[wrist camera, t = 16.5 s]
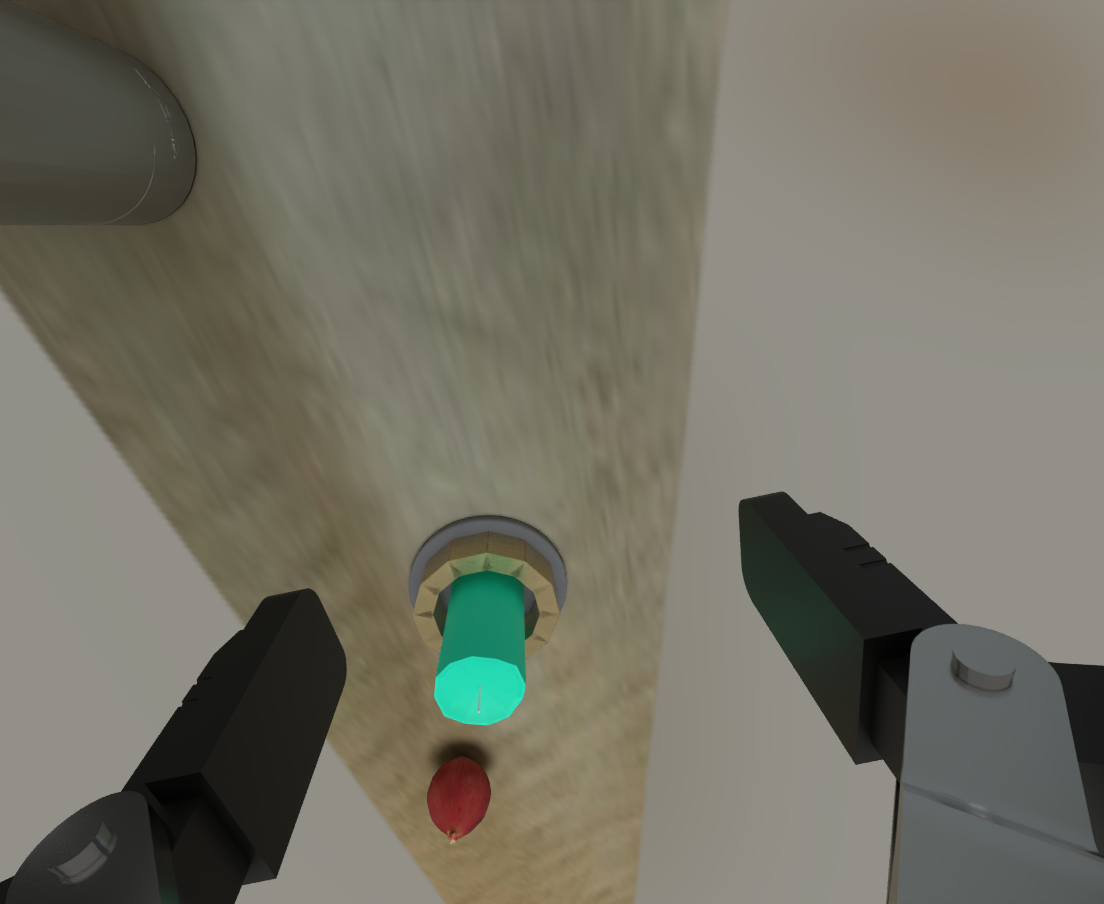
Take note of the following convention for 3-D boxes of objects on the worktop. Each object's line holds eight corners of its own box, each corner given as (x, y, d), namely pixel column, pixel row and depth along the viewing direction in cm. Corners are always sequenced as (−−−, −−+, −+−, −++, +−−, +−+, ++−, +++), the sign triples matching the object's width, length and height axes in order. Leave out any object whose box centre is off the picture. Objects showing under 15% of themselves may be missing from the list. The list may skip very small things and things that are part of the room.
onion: (503, 753, 53) (501, 837, 46) (469, 784, 55) (462, 871, 48) (455, 729, 52) (445, 813, 44) (422, 763, 53) (407, 849, 46)
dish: (437, 655, 48) (436, 663, 47) (389, 535, 43) (386, 542, 42) (578, 625, 47) (580, 633, 46) (547, 500, 42) (548, 506, 41)
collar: (443, 652, 46) (439, 680, 44) (403, 549, 42) (395, 572, 39) (566, 626, 46) (570, 652, 43) (538, 520, 42) (540, 541, 39)
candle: (482, 630, 46) (472, 759, 35) (435, 585, 44) (409, 708, 33) (538, 594, 45) (545, 715, 34) (492, 546, 42) (485, 660, 31)
